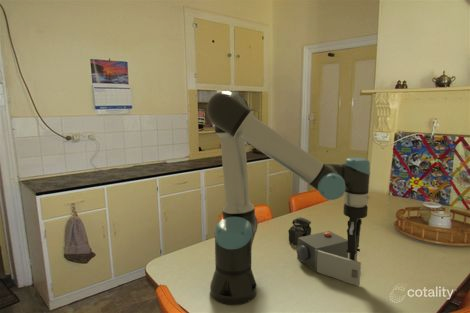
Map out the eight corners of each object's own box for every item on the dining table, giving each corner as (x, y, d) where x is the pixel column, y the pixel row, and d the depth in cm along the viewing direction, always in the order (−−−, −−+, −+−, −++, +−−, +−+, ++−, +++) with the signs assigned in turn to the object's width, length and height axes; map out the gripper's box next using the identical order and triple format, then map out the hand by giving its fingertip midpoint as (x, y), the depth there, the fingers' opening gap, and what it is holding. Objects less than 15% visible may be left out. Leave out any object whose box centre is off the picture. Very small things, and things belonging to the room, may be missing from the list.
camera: (311, 246, 139) (311, 224, 137) (287, 244, 141) (288, 222, 140) (310, 234, 152) (311, 214, 150) (289, 233, 154) (289, 213, 152)
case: (310, 271, 118) (311, 247, 116) (293, 258, 128) (293, 236, 126) (347, 261, 126) (349, 238, 124) (328, 250, 135) (329, 228, 134)
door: (312, 271, 117) (313, 251, 116) (315, 269, 118) (316, 249, 117) (357, 287, 107) (359, 264, 106) (359, 284, 108) (361, 262, 107)
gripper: (364, 211, 100) (360, 280, 104) (370, 200, 111) (366, 263, 115) (339, 207, 104) (336, 274, 108) (347, 197, 115) (344, 259, 119)
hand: (352, 269), depth 112 cm, fingers closed
